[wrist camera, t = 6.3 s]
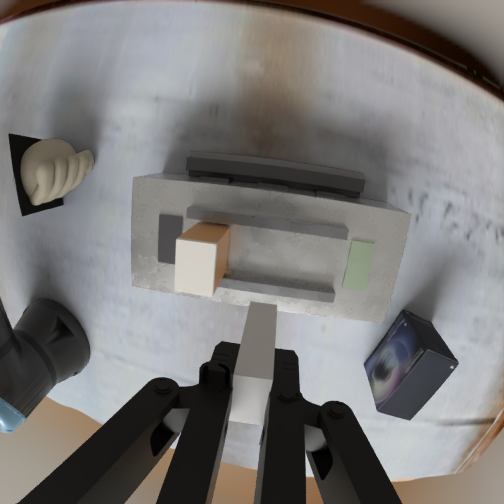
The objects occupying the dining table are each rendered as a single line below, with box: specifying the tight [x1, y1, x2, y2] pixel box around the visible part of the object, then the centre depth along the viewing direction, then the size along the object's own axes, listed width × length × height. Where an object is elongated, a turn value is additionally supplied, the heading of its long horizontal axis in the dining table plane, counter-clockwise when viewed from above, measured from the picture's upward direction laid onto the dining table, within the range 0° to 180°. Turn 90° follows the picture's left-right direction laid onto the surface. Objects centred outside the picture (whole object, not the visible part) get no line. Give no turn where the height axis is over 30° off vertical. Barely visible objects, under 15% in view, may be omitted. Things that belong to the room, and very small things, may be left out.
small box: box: [364, 310, 459, 420], centre depth 36 cm, size 11×6×10 cm, turn 156°
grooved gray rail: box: [186, 151, 365, 198], centre depth 35 cm, size 20×3×3 cm, turn 84°
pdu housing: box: [131, 173, 411, 323], centre depth 34 cm, size 28×12×9 cm, turn 84°
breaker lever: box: [175, 222, 231, 297], centre depth 28 cm, size 3×4×6 cm
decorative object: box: [9, 134, 94, 216], centre depth 33 cm, size 13×10×10 cm
